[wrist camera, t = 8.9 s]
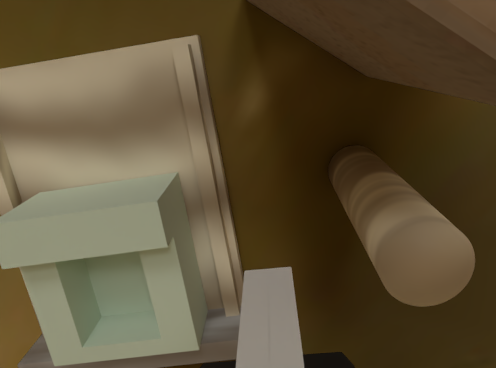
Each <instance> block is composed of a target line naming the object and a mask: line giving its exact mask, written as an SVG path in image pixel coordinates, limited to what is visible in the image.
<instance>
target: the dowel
mask: <svg viewBox="0 0 496 368" xmlns="http://www.w3.org/2000/svg"><path fill="white" fill-rule="evenodd" d="M328 176H329V180H330V182H331V184H332V186H333V188H334V190H335V192H336V194H337V196H338V198H339V199H340V201H341V203H342V205H343V207H344V209H345V211H346V213H347V215H348V217H349V219H350V221H351V223H352V225H353V227H354V228H355V230H356V232H357V234H358V236H359V238H360V240H361V242H362V244H363V246H364V248H365V250H366V252H367V254H368V256H369V258H370V259H371V261H372V263H373V265H374V267H375V269H376V271H377V273H378V275H379V277H380V279H381V281H382V283H383V285H384V287H385V288H386V290H387V291H388V292H389V293H390V294H391V295H392V296H393V297H394V298H396V299H397V300H399V301H401V302H403V303H405V304H408V305H412V306H422V307H424V306H433V305H437V304H441V303H443V302H446V301H448V300H450V299H451V298H453V297H454V296H456V295H457V294H458V293H459V292H461V291H462V290H463V288H464V287H465V286H466V285H467V283H468V282H469V280H470V278H471V276H472V274H473V271H474V266H475V254H474V250H473V247H472V245H471V243H470V241H469V240H468V238H467V237H466V236H465V235H464V234H463V233H462V232H461V231H460V230H458V229H457V228H456V227H455V226H454V225H453V224H452V223H451V222H450V221H449V220H447V219H446V218H445V217H444V216H443V215H442V214H441V213H440V212H439V211H437V210H436V209H435V208H434V207H433V206H432V205H431V204H430V203H429V202H428V201H426V200H425V199H424V198H423V197H422V196H421V195H420V194H419V193H418V192H417V191H415V190H414V189H413V188H412V187H411V186H410V185H409V184H408V183H407V182H405V181H404V180H403V179H402V178H401V177H400V176H399V175H398V174H397V173H396V172H394V171H393V170H392V169H391V168H390V167H389V166H388V165H387V164H386V163H385V162H383V161H382V160H381V159H380V158H379V157H378V156H377V155H376V154H375V153H373V152H372V151H371V150H370V149H368V148H366V147H364V146H359V145H351V146H347V147H345V148H342V149H341V150H339V151H338V152H337V153H336V154H335V155H334V156H333V157H332V159H331V161H330V163H329V167H328Z"/></svg>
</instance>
